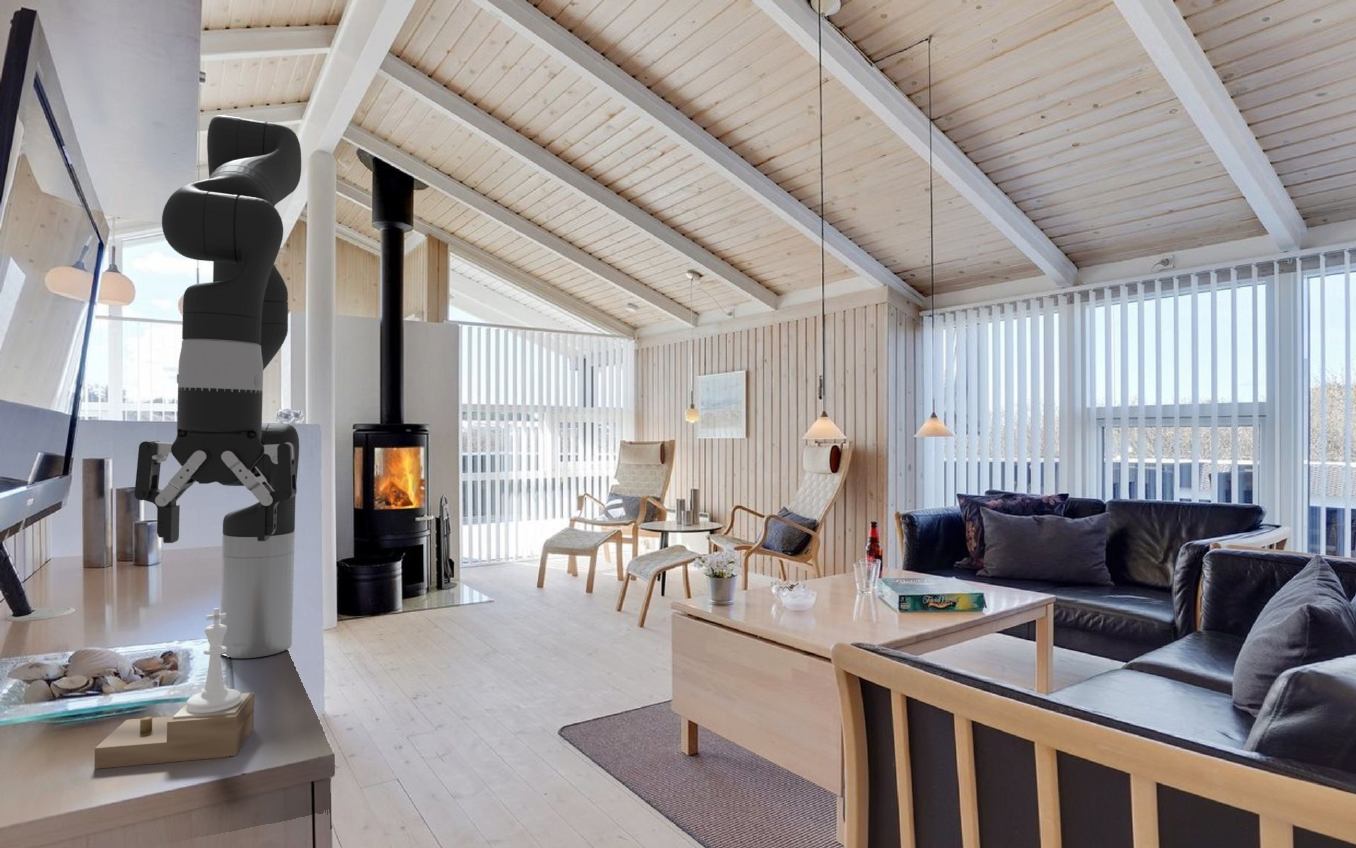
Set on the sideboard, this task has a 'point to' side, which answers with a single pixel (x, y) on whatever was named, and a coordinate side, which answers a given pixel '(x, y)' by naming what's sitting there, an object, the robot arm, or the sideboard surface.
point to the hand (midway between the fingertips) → (217, 541)
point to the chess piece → (214, 673)
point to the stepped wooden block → (178, 736)
